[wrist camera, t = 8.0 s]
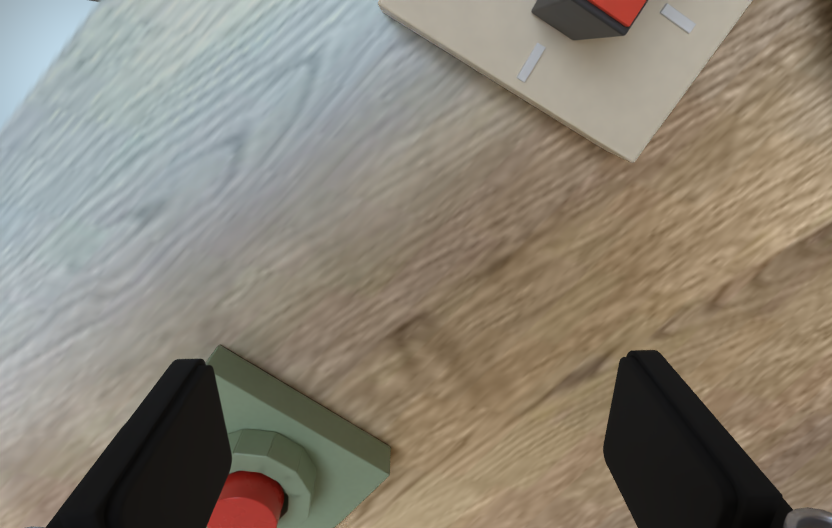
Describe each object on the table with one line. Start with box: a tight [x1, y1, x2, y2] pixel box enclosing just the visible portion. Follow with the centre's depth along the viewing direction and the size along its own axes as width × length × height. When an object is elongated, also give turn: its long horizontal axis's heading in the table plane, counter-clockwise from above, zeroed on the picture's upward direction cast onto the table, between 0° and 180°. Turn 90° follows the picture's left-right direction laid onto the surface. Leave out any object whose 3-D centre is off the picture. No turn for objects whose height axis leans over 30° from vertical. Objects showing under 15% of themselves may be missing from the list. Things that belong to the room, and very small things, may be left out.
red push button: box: [207, 471, 284, 528], centre depth 25 cm, size 4×4×2 cm
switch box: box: [205, 345, 391, 528], centre depth 28 cm, size 12×9×4 cm
